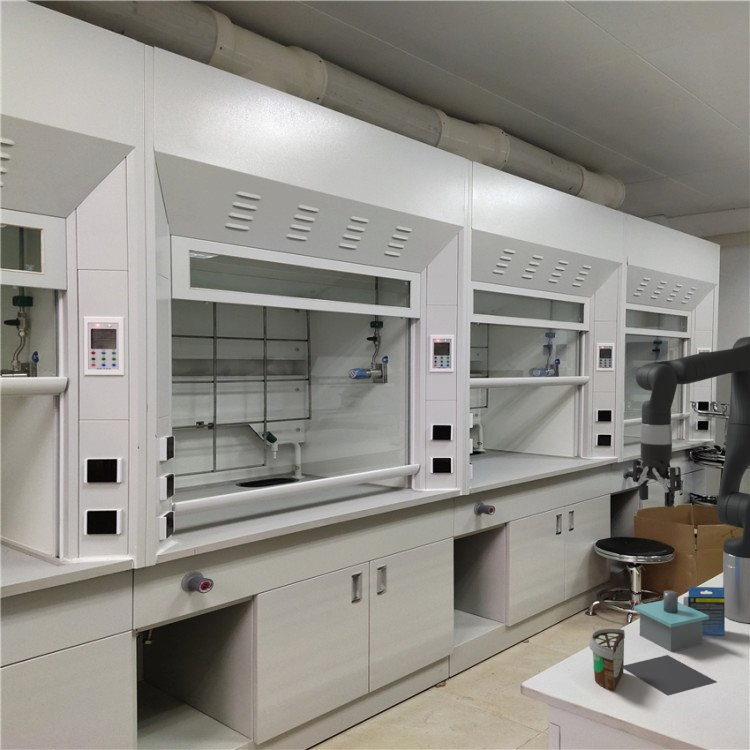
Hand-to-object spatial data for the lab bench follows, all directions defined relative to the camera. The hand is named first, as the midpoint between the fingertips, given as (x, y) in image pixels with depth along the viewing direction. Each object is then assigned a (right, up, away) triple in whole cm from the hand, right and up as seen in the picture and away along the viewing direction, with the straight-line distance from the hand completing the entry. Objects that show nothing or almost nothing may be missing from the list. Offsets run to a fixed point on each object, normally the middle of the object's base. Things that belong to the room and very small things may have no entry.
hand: (656, 503), depth 179 cm
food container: (-23, -34, -28) cm, 50 cm away
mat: (-8, -33, -27) cm, 44 cm away
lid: (0, -25, -10) cm, 27 cm away
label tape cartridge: (+10, -32, -4) cm, 34 cm away
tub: (0, -32, -9) cm, 34 cm away
